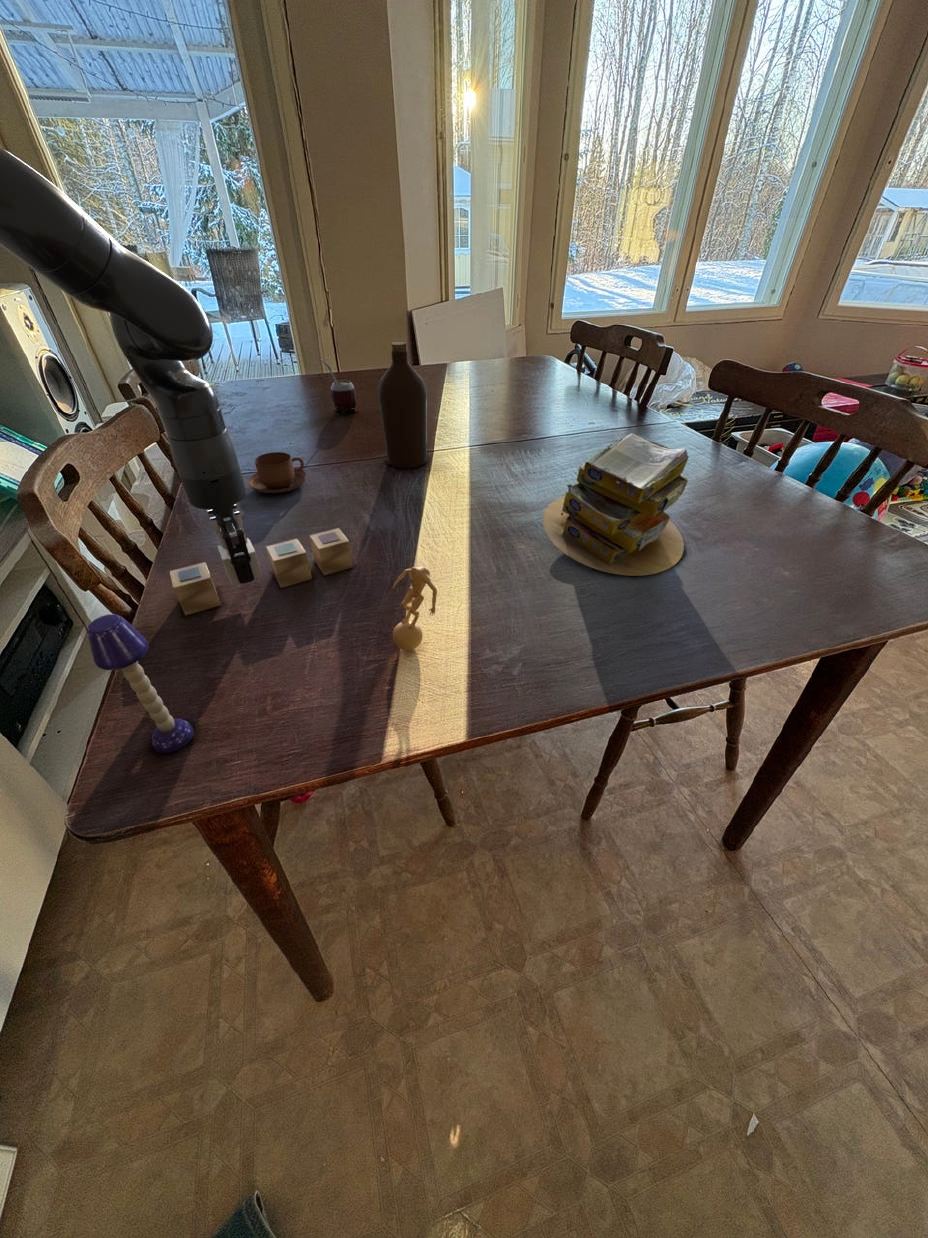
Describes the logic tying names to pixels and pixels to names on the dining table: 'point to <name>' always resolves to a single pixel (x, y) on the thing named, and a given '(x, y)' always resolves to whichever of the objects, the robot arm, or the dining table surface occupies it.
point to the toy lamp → (136, 676)
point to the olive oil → (403, 411)
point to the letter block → (230, 567)
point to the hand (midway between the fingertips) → (243, 572)
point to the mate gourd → (342, 394)
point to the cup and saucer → (277, 473)
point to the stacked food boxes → (622, 509)
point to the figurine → (413, 608)
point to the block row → (286, 565)
